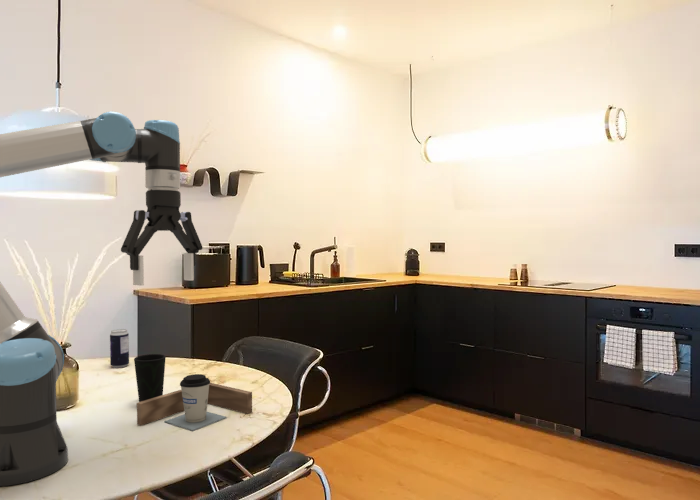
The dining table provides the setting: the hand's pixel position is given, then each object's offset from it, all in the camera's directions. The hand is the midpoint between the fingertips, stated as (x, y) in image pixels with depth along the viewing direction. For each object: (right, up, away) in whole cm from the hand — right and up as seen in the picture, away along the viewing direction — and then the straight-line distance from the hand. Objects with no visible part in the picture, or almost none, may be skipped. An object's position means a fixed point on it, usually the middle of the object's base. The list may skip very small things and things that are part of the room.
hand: (164, 282), depth 122 cm
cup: (-9, -33, +16) cm, 37 cm away
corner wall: (+6, -33, +4) cm, 33 cm away
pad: (+6, -33, +3) cm, 33 cm away
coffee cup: (+6, -33, +3) cm, 33 cm away
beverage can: (-34, -31, +54) cm, 71 cm away
